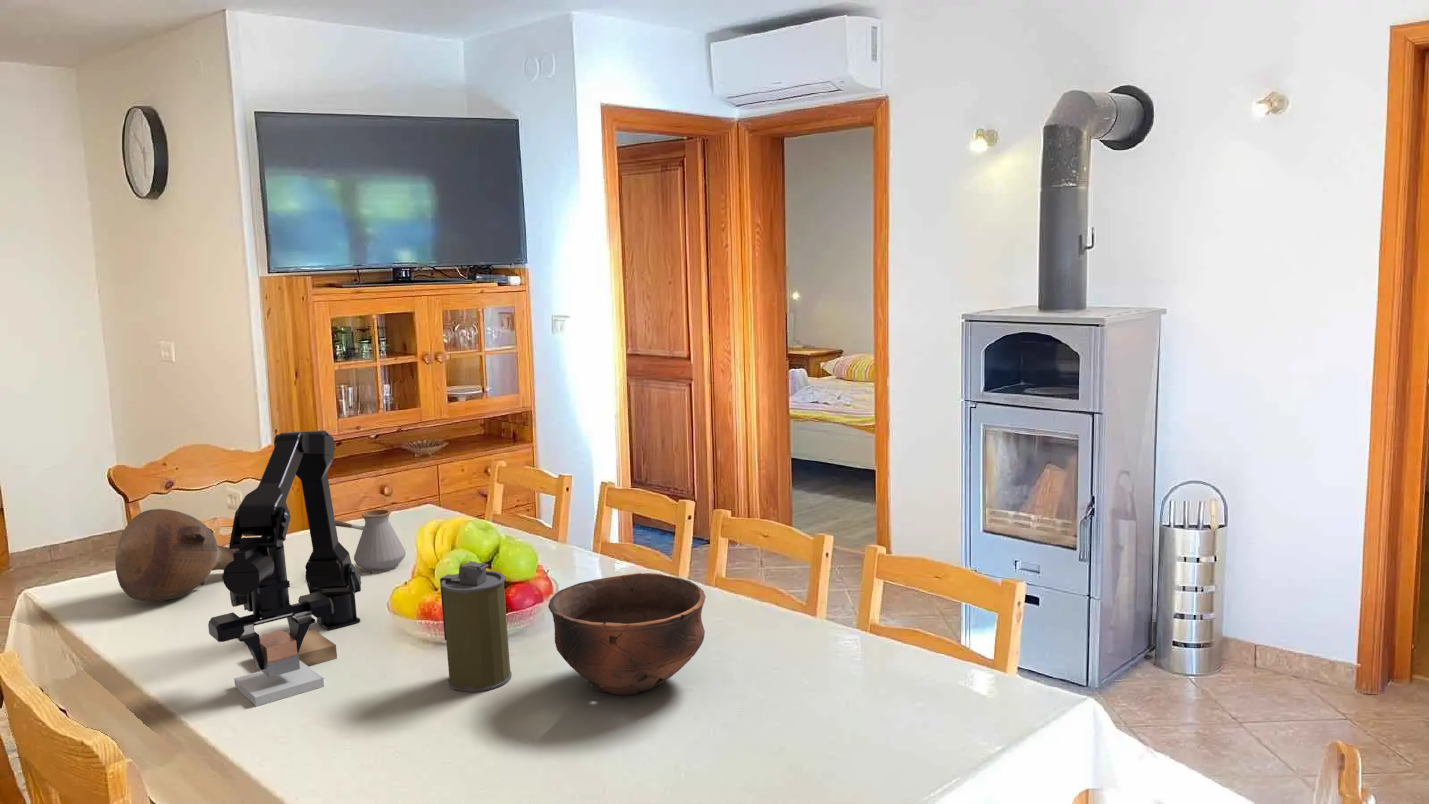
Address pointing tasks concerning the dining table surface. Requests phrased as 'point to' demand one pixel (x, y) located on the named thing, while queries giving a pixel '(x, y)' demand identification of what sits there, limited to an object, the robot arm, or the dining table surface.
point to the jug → (166, 555)
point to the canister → (475, 628)
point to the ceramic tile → (278, 684)
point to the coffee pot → (377, 542)
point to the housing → (278, 654)
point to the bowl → (628, 629)
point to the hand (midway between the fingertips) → (277, 664)
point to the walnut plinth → (316, 649)
